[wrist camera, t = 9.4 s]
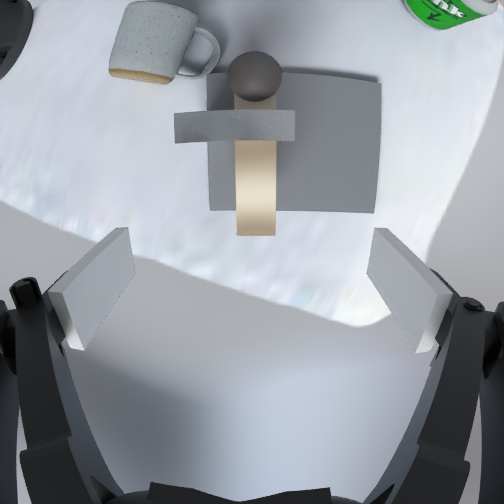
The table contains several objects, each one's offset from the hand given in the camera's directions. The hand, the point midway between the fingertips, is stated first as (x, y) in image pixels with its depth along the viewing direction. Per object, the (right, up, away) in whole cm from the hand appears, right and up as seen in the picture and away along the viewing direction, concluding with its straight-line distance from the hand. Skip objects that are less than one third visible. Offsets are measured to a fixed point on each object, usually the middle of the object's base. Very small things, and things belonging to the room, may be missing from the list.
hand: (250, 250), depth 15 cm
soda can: (+21, +30, +6) cm, 38 cm away
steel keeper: (-1, +13, +14) cm, 19 cm away
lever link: (0, +10, +11) cm, 15 cm away
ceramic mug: (-8, +22, +10) cm, 26 cm away
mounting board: (+5, +12, +14) cm, 19 cm away
